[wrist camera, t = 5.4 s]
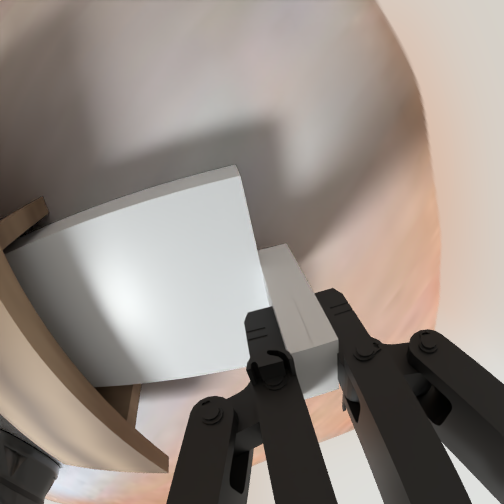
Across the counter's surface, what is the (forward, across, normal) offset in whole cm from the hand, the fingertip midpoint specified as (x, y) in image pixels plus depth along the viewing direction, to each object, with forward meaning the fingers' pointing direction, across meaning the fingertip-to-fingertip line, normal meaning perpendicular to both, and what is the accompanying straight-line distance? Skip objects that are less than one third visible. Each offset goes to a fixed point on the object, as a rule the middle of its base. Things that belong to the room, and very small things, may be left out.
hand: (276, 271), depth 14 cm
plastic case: (+2, -8, 0) cm, 8 cm away
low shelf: (+1, -16, 0) cm, 16 cm away
